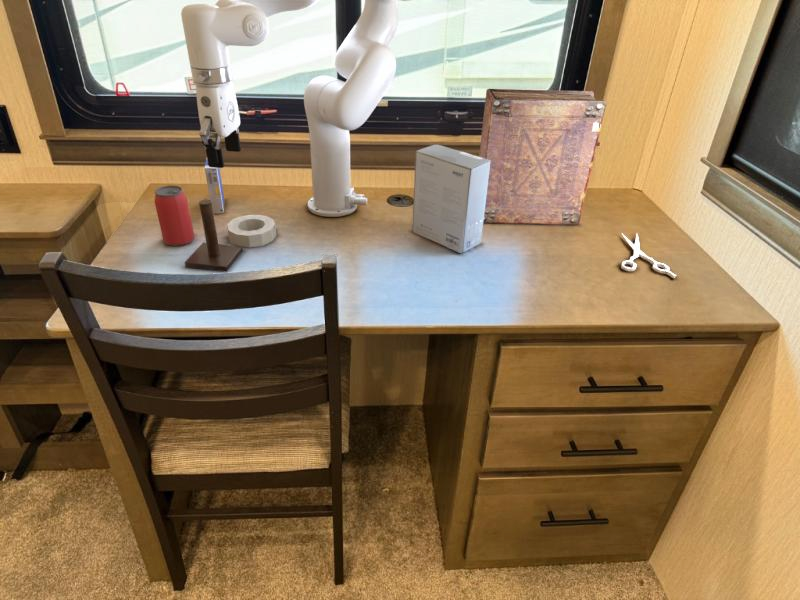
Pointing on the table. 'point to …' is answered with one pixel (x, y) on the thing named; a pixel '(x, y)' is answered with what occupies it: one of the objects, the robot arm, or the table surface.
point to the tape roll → (243, 227)
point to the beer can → (174, 215)
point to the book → (539, 154)
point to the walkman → (215, 188)
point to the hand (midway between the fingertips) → (225, 158)
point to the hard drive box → (450, 196)
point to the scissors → (641, 254)
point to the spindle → (212, 245)
